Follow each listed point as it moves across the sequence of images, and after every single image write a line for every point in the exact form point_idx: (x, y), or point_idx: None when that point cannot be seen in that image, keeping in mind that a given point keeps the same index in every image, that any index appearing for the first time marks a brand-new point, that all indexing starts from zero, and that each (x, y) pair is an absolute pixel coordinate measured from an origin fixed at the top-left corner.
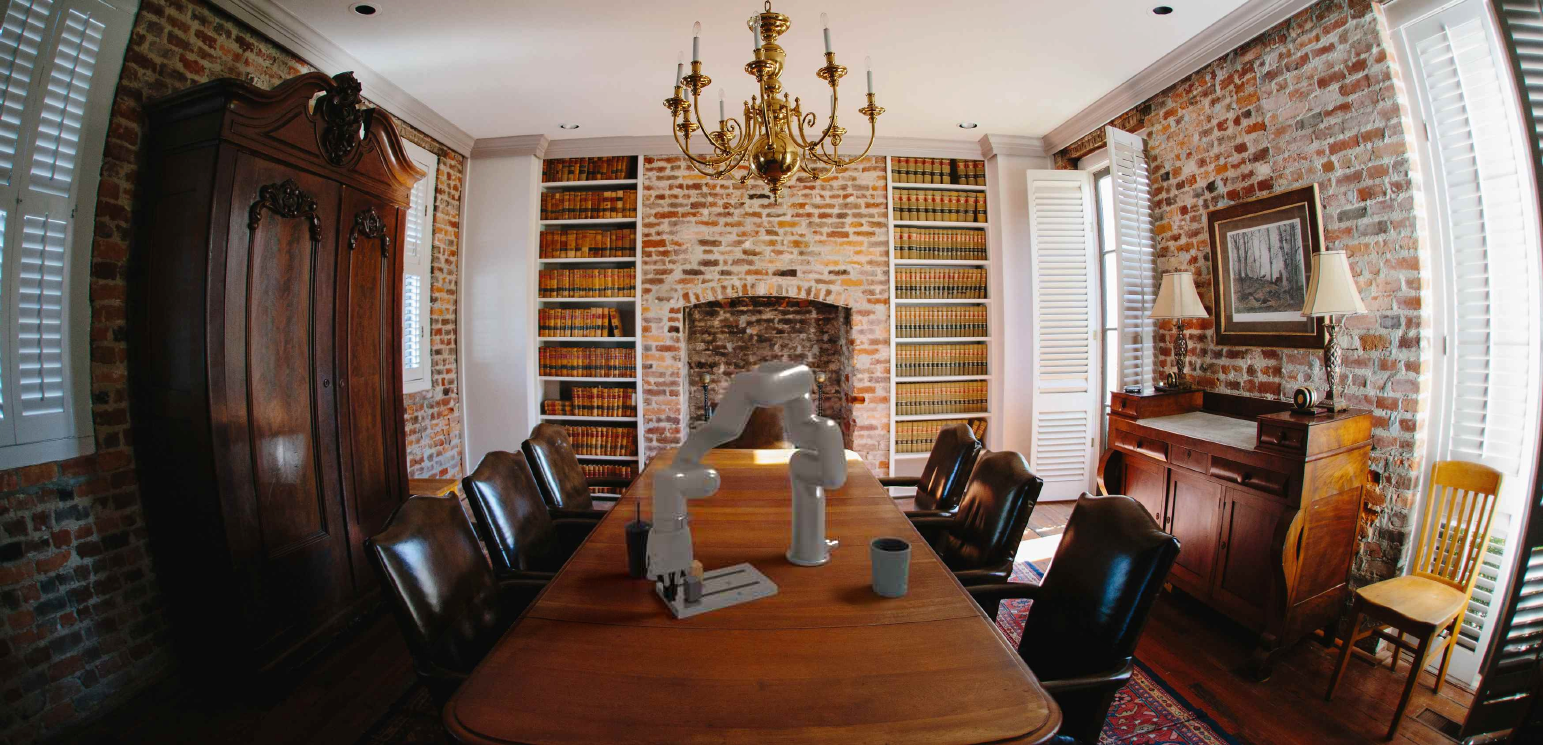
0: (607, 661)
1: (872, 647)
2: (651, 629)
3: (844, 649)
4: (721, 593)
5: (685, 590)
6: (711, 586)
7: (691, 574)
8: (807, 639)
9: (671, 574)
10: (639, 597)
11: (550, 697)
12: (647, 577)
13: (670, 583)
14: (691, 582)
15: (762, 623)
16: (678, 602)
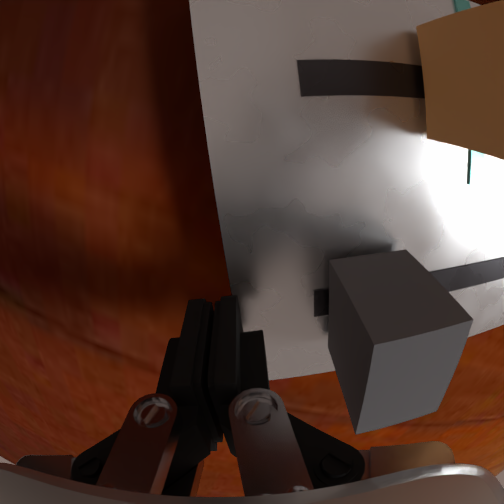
0: (50, 428)
1: (490, 450)
2: (132, 375)
3: (467, 458)
4: (487, 288)
5: (340, 321)
6: (496, 197)
7: (474, 148)
8: (459, 446)
9: (236, 447)
10: (85, 60)
11: (8, 443)
12: (25, 467)
13: (218, 416)
14: (373, 427)
15: (453, 407)
16: (272, 316)
